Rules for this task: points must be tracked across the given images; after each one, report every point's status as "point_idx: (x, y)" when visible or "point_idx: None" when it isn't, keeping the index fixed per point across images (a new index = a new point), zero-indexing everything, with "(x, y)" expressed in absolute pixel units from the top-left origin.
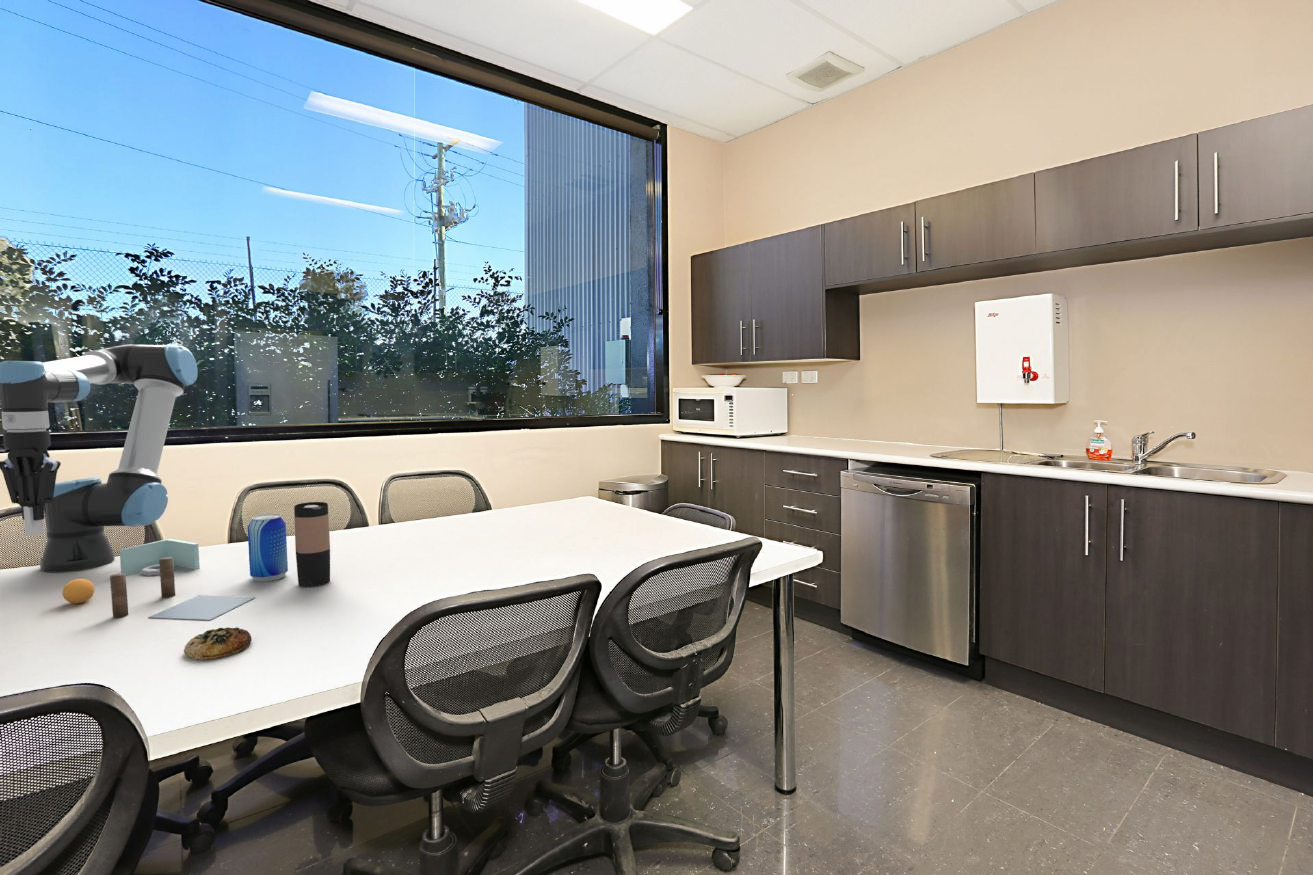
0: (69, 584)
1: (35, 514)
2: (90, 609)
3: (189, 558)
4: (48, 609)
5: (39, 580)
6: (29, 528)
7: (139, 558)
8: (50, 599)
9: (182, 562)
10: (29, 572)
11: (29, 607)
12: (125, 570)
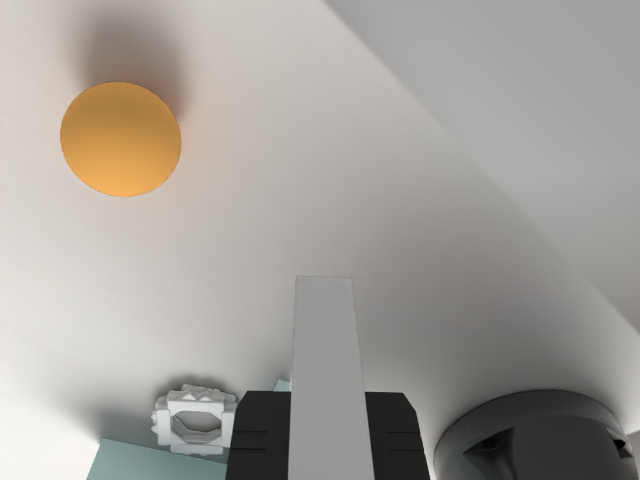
0: (110, 120)
1: (258, 442)
2: (2, 46)
3: (120, 475)
4: (185, 35)
5: (527, 327)
6: (309, 315)
7: None
8: (299, 151)
9: (165, 466)
10: (625, 387)
11: (292, 55)
12: None
